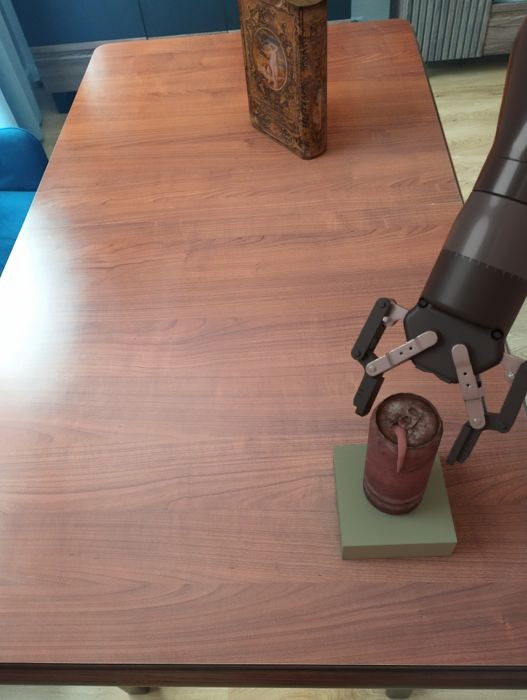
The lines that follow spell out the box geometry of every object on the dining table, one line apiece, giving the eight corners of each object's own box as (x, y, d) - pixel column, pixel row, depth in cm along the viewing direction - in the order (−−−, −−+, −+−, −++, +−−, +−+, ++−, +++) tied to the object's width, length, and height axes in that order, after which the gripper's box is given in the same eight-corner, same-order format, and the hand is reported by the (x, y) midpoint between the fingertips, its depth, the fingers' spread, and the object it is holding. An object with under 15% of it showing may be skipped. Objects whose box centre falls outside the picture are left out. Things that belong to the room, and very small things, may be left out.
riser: (430, 457, 66) (435, 440, 63) (450, 555, 59) (457, 542, 56) (333, 462, 67) (333, 445, 63) (341, 559, 60) (342, 546, 57)
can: (362, 517, 58) (370, 451, 47) (363, 460, 62) (371, 386, 51) (424, 522, 57) (448, 456, 46) (421, 463, 61) (442, 390, 50)
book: (331, 149, 103) (333, -5, 84) (308, 162, 102) (304, 8, 82) (273, 114, 112) (262, -33, 92) (250, 125, 110) (234, -22, 90)
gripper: (395, 225, 46) (317, 405, 50) (580, 294, 40) (476, 492, 44) (418, 236, 53) (348, 395, 57) (580, 298, 47) (489, 470, 51)
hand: (404, 437), depth 50 cm, fingers open, 8 cm apart
